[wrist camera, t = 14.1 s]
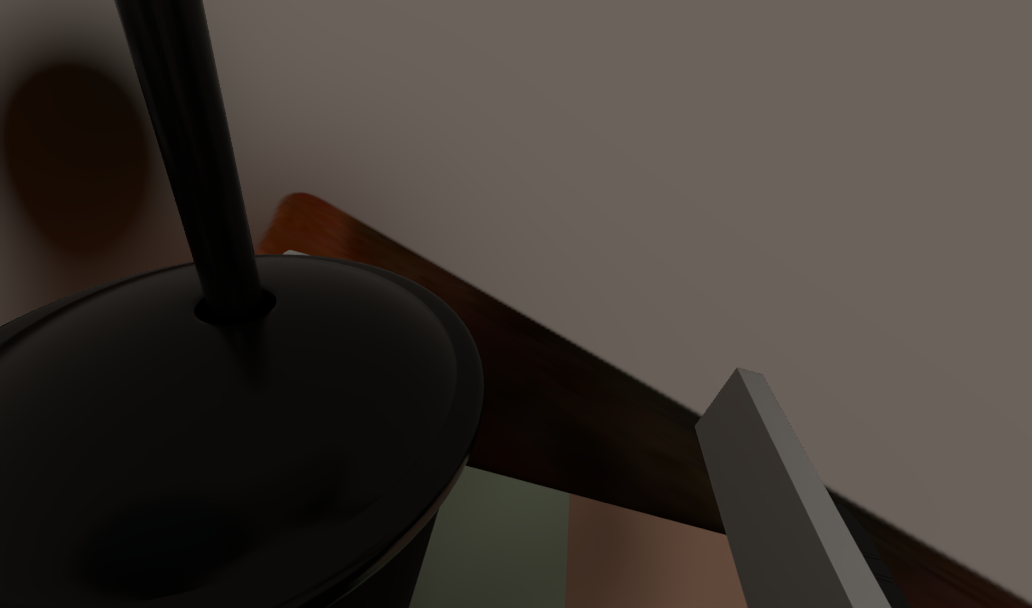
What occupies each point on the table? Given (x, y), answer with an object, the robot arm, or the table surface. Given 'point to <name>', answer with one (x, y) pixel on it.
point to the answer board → (566, 553)
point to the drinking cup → (227, 401)
